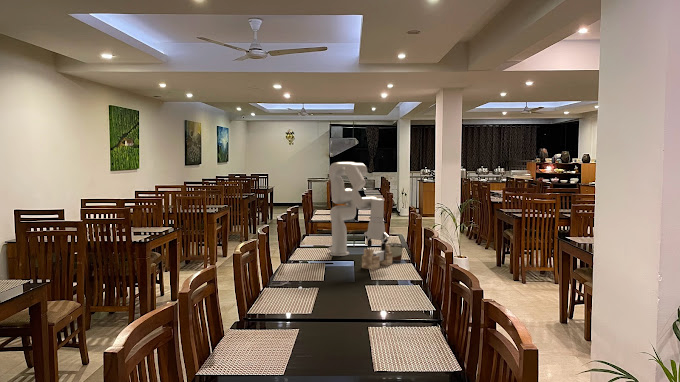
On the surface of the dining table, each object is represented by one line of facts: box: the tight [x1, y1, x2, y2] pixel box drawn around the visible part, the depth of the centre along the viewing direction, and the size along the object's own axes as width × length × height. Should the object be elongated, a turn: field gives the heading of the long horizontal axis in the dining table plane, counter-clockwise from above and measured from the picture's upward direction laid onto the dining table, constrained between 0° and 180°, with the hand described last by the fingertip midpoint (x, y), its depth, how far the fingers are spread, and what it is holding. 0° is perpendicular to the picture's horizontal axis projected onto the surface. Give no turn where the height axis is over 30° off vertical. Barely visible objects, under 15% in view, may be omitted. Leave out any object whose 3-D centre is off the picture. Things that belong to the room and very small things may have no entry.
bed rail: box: [373, 249, 387, 261], centre depth 295 cm, size 4×14×5 cm, turn 141°
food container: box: [386, 242, 404, 262], centre depth 310 cm, size 12×6×10 cm, turn 84°
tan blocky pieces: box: [361, 245, 393, 271], centre depth 295 cm, size 8×19×11 cm, turn 141°
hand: (376, 248), depth 295 cm, fingers open, 9 cm apart
